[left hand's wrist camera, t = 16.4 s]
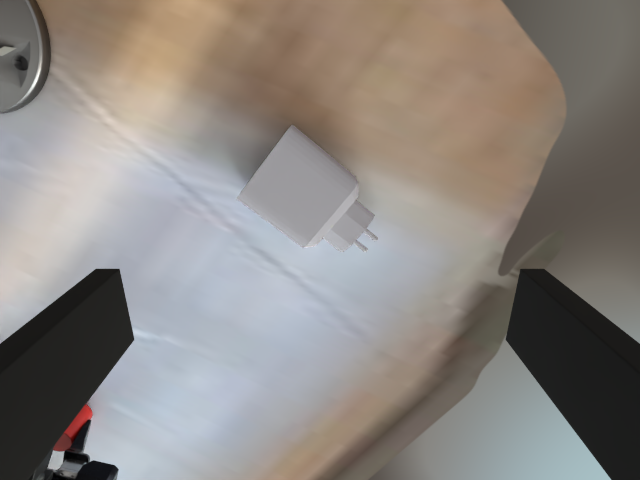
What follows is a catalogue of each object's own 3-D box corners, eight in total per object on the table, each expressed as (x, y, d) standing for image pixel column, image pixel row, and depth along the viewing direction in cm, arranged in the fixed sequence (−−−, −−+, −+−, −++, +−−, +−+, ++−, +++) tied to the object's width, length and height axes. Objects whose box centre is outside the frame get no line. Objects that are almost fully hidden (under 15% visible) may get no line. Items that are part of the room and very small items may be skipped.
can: (70, 422, 55) (47, 452, 50) (61, 402, 53) (37, 430, 49) (96, 420, 55) (75, 450, 50) (87, 400, 53) (66, 428, 49)
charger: (344, 265, 46) (242, 189, 43) (395, 208, 44) (292, 123, 40) (346, 283, 42) (233, 200, 38) (404, 221, 39) (288, 126, 36)
